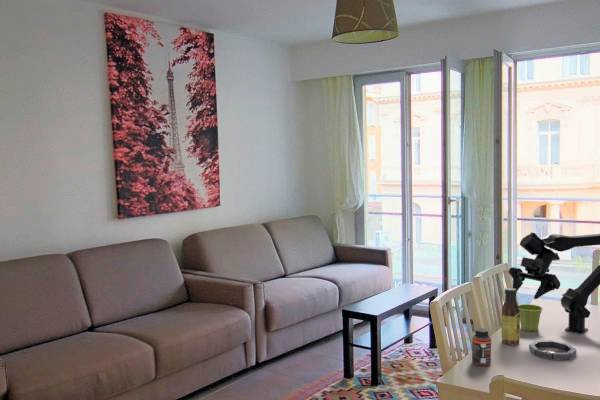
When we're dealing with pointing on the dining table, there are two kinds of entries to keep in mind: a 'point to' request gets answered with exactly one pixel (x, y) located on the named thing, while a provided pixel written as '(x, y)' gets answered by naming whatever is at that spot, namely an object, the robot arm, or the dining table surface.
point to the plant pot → (529, 316)
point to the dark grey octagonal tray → (552, 350)
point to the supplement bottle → (481, 347)
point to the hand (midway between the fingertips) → (523, 296)
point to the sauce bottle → (510, 318)
